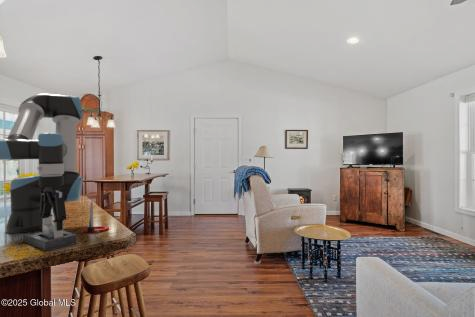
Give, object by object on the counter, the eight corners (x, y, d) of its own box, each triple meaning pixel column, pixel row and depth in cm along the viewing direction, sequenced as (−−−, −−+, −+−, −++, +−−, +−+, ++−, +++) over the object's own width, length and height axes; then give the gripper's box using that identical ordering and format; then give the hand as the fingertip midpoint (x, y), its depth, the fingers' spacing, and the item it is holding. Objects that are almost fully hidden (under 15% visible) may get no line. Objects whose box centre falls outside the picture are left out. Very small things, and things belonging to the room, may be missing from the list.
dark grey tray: (24, 241, 100) (24, 233, 100) (54, 235, 108) (54, 227, 108) (45, 251, 90) (45, 241, 90) (76, 242, 98) (76, 234, 98)
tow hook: (95, 228, 120) (80, 233, 111) (96, 199, 120) (81, 201, 111) (112, 228, 119) (98, 234, 109) (113, 199, 119) (99, 202, 110)
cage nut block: (42, 244, 97) (42, 224, 97) (56, 240, 101) (56, 222, 101) (48, 246, 95) (47, 226, 95) (62, 242, 99) (61, 223, 99)
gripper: (27, 175, 101) (29, 235, 101) (52, 177, 89) (54, 245, 89) (50, 173, 107) (51, 230, 107) (76, 175, 95) (78, 239, 95)
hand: (52, 237), depth 98 cm, fingers open, 9 cm apart
